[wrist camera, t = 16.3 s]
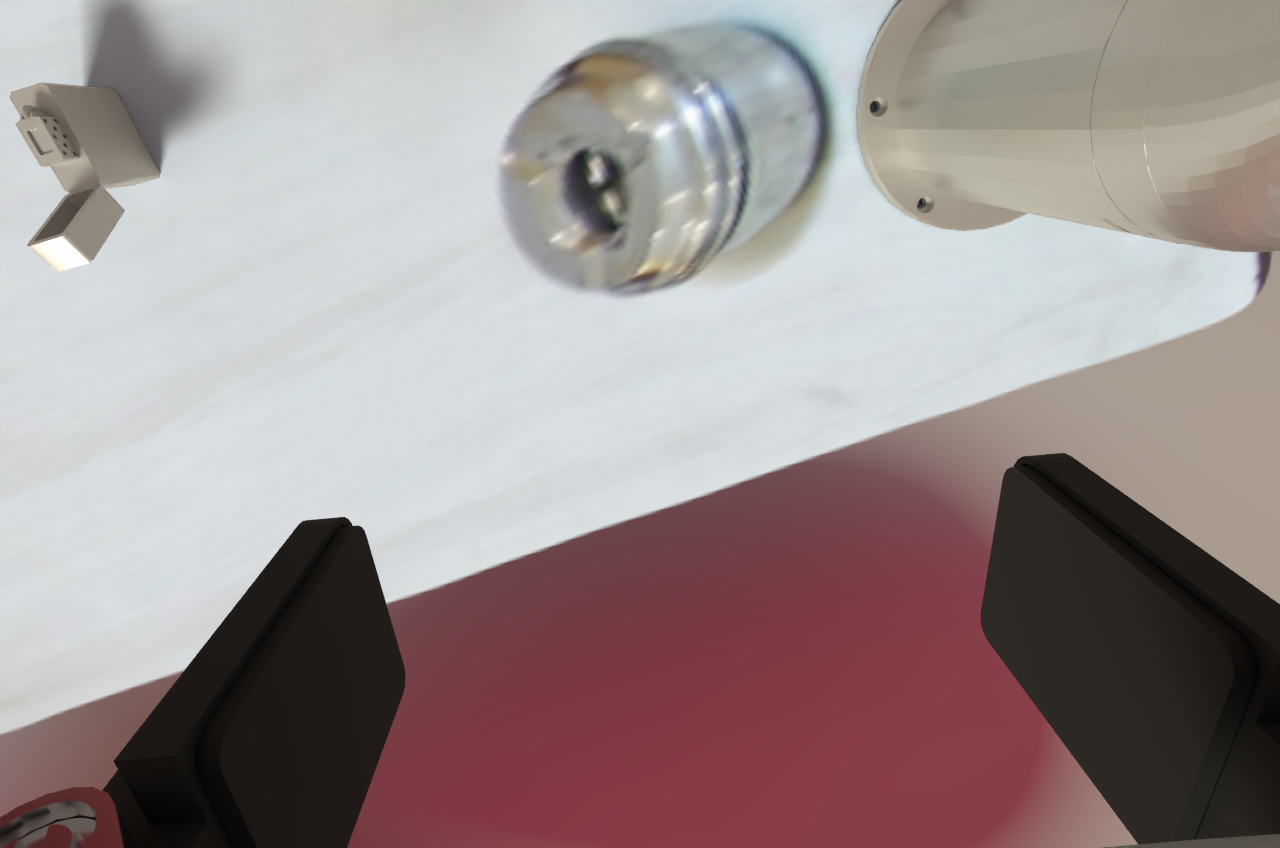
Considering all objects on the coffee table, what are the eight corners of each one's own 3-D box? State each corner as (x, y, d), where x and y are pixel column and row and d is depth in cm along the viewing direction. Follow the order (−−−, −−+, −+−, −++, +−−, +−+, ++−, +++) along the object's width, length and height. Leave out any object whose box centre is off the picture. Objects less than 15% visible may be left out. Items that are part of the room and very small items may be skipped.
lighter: (81, 97, 32) (-77, 88, 24) (114, 87, 32) (-35, 75, 24) (162, 244, 35) (43, 276, 27) (193, 235, 34) (81, 264, 27)
